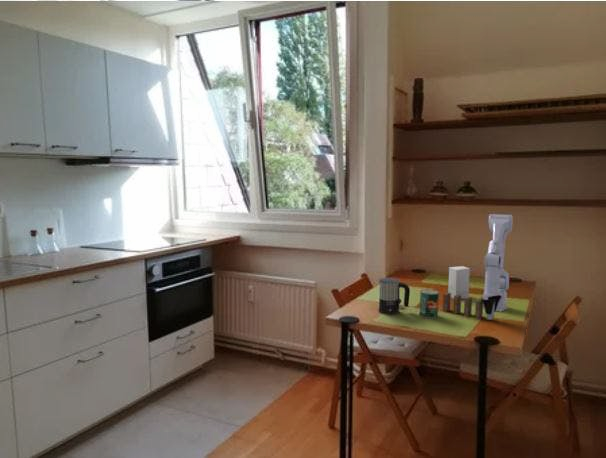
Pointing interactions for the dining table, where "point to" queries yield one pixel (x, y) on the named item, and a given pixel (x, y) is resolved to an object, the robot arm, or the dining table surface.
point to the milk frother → (391, 295)
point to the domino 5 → (491, 313)
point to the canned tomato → (429, 303)
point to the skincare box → (459, 281)
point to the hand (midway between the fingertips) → (490, 312)
